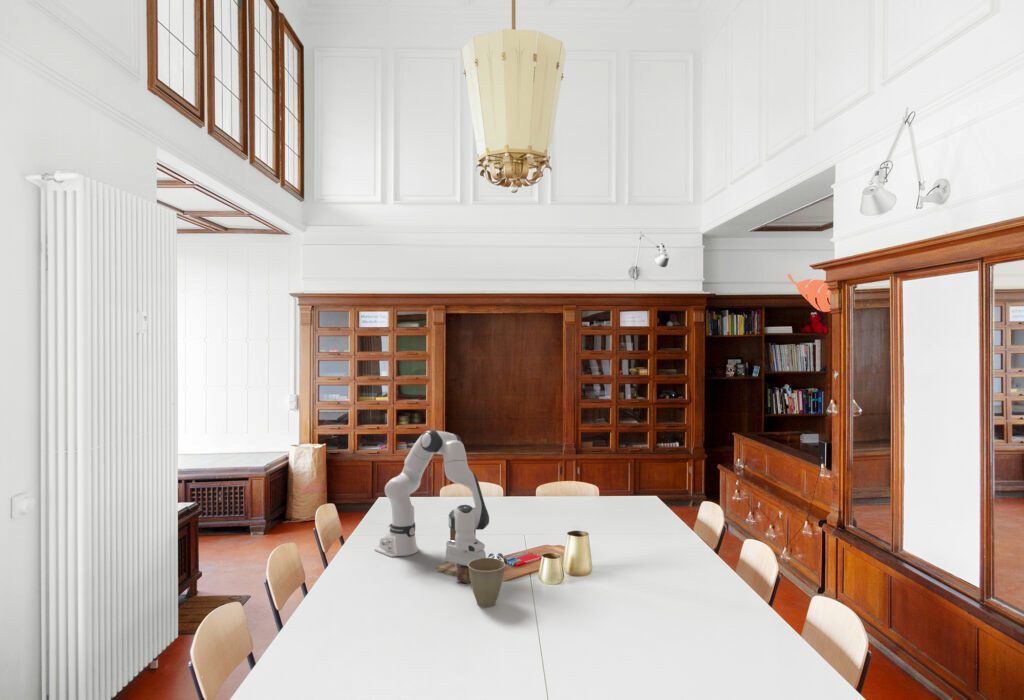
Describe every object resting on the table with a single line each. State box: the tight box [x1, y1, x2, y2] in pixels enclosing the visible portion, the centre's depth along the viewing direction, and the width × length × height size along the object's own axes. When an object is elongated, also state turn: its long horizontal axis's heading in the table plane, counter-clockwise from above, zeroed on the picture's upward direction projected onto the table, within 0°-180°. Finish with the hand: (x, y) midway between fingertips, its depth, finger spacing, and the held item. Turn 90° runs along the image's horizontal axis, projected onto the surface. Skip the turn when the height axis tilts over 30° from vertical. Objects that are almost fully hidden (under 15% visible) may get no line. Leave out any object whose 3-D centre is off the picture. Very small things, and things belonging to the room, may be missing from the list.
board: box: [436, 561, 461, 577], centre depth 276 cm, size 24×9×2 cm, turn 57°
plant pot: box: [468, 557, 506, 608], centre depth 243 cm, size 15×15×16 cm
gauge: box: [456, 565, 471, 584], centre depth 269 cm, size 5×12×6 cm, turn 148°
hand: (465, 574), depth 266 cm, fingers closed on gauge, 5 cm apart
